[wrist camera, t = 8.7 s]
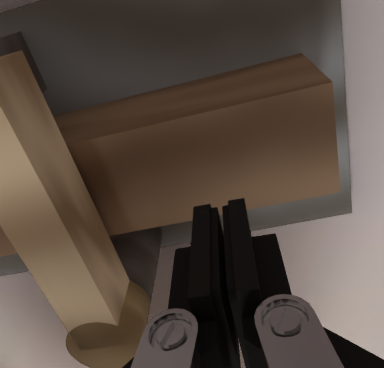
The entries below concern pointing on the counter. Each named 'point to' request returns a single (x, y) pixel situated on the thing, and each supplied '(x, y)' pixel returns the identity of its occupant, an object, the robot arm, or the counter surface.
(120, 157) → the wooden gate latch
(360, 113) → the counter surface
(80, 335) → the bar
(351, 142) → the counter surface
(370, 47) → the counter surface
